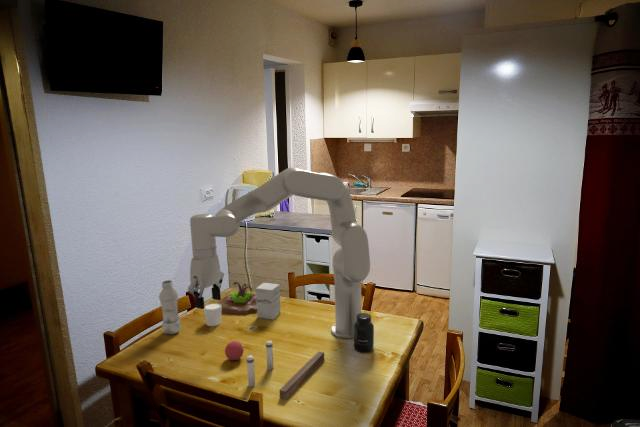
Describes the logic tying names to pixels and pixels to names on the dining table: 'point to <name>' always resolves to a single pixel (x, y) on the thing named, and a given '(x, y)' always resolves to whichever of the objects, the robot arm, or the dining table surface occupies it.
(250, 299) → the plant
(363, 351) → the supplement bottle
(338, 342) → the dining table surface
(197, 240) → the robot arm
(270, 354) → the pin
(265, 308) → the supplement box
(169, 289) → the plastic bottle
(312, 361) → the back wall
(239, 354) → the ball
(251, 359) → the side pin
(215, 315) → the white cup
